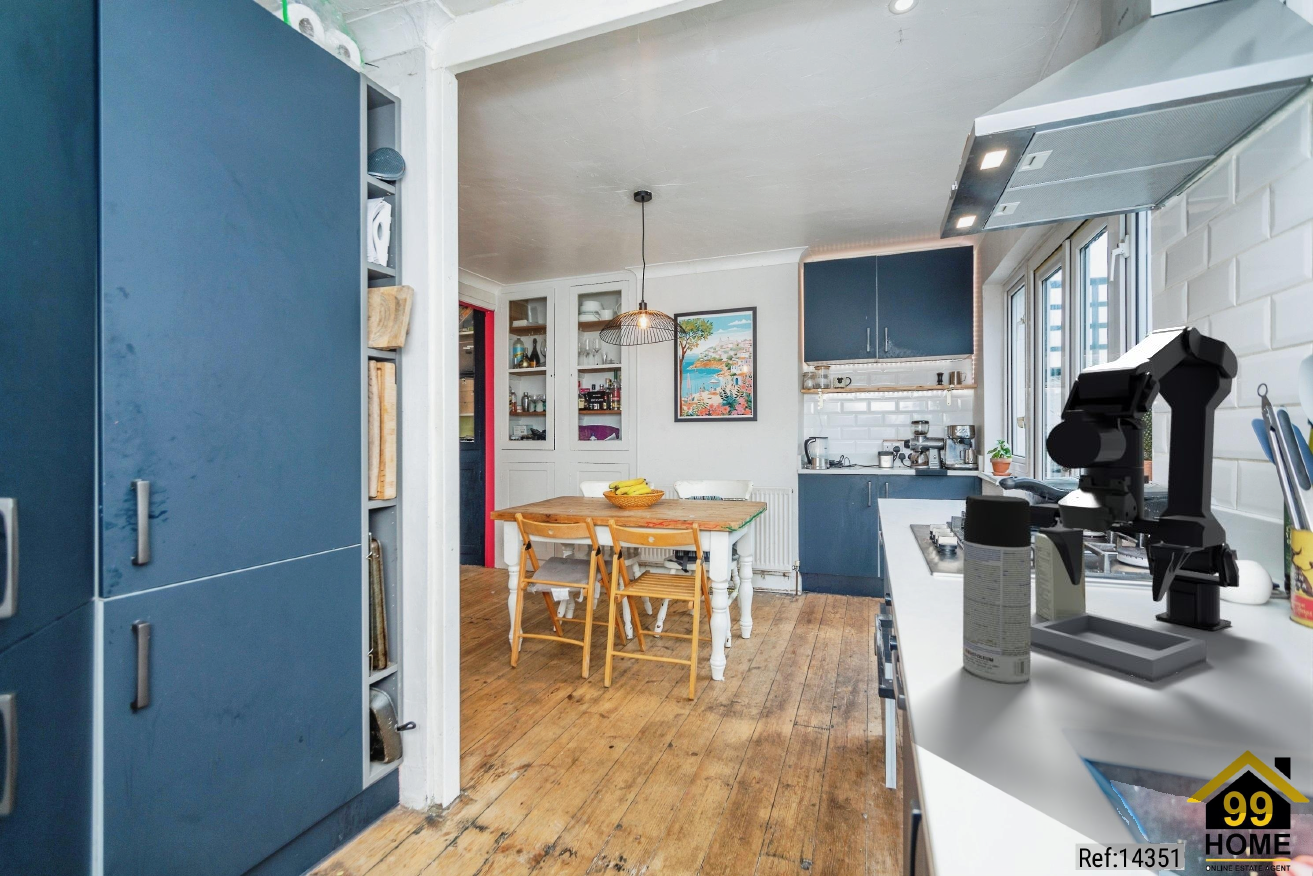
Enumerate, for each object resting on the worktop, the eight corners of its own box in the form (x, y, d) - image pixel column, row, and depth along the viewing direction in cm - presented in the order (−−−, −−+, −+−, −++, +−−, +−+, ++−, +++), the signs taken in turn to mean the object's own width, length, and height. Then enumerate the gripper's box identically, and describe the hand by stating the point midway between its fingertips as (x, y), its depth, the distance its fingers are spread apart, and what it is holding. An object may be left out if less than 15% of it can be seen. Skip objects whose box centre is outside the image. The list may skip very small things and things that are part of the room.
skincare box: (1087, 626, 82) (1087, 540, 82) (1053, 624, 83) (1053, 539, 83) (1065, 613, 88) (1065, 533, 88) (1033, 611, 89) (1033, 532, 89)
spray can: (1022, 666, 67) (1021, 495, 68) (1039, 689, 61) (1038, 501, 61) (958, 659, 70) (958, 493, 70) (968, 681, 63) (968, 499, 63)
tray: (1084, 630, 80) (1084, 612, 80) (1206, 662, 69) (1206, 641, 69) (1029, 645, 74) (1029, 626, 74) (1152, 683, 63) (1152, 660, 63)
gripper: (999, 465, 76) (1000, 583, 76) (1178, 472, 60) (1179, 623, 60) (1048, 463, 81) (1048, 574, 81) (1225, 469, 65) (1225, 608, 65)
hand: (1114, 592), depth 72 cm, fingers open, 8 cm apart
